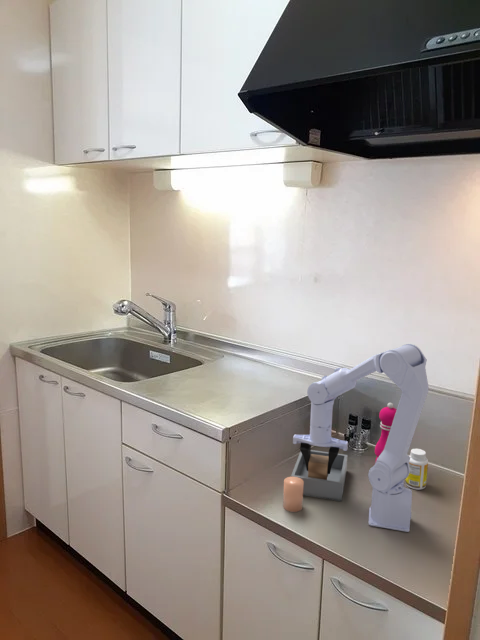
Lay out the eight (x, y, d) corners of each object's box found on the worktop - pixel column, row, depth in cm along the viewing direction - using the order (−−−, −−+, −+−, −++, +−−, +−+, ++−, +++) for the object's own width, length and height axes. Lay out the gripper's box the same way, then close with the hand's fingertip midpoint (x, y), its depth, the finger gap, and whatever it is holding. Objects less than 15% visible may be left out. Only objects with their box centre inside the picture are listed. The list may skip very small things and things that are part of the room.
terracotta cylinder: (303, 502, 131) (305, 478, 130) (300, 513, 126) (301, 487, 125) (285, 499, 132) (285, 475, 131) (281, 509, 128) (282, 484, 126)
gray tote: (346, 470, 149) (347, 454, 148) (341, 501, 132) (342, 483, 131) (300, 464, 152) (301, 448, 151) (290, 493, 136) (290, 476, 135)
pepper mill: (395, 473, 148) (400, 408, 144) (370, 467, 151) (375, 404, 147) (400, 463, 154) (405, 401, 150) (377, 457, 157) (381, 397, 154)
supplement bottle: (420, 480, 144) (423, 446, 142) (429, 490, 138) (432, 455, 136) (401, 480, 143) (404, 447, 141) (410, 491, 138) (413, 456, 136)
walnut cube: (328, 473, 139) (329, 456, 138) (326, 481, 134) (327, 464, 134) (310, 470, 141) (311, 453, 140) (307, 479, 136) (308, 461, 135)
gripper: (349, 421, 137) (346, 467, 139) (296, 415, 141) (295, 460, 143) (347, 431, 130) (344, 480, 133) (292, 424, 134) (290, 471, 137)
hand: (318, 470), depth 137 cm, fingers closed on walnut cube, 5 cm apart
